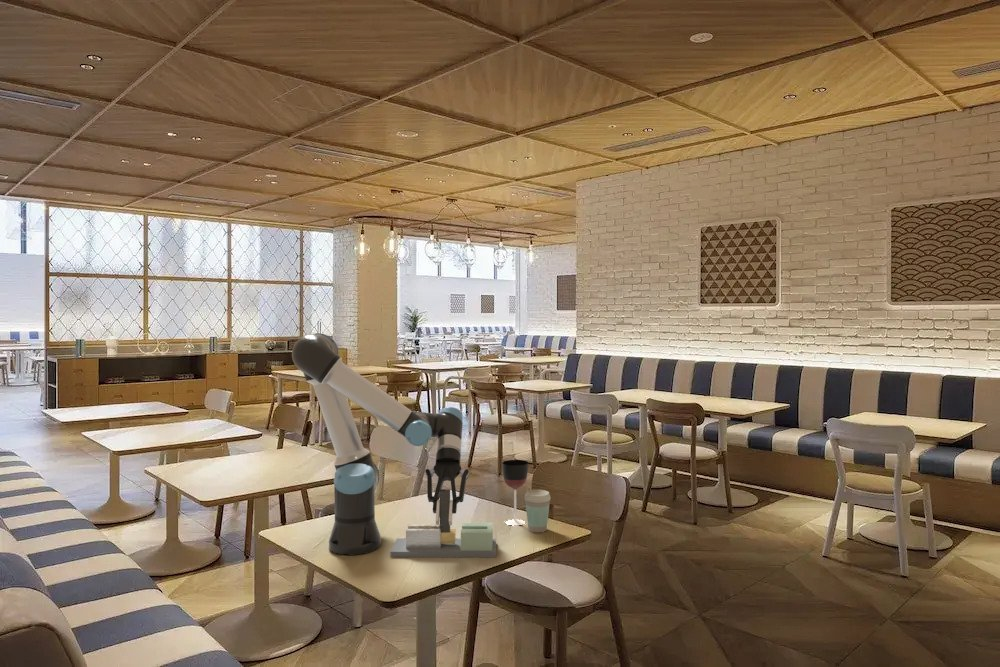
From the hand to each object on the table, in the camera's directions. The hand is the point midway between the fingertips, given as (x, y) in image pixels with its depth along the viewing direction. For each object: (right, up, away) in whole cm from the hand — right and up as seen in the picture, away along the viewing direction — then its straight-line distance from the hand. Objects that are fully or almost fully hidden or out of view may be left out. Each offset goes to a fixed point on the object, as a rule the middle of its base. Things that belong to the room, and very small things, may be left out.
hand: (443, 522), depth 191 cm
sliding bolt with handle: (-4, -7, +4) cm, 9 cm away
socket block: (+9, -8, +4) cm, 13 cm away
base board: (0, -9, +4) cm, 10 cm away
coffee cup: (+28, -9, +22) cm, 37 cm away
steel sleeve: (-6, -8, +4) cm, 11 cm away
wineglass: (+21, -8, +29) cm, 37 cm away
